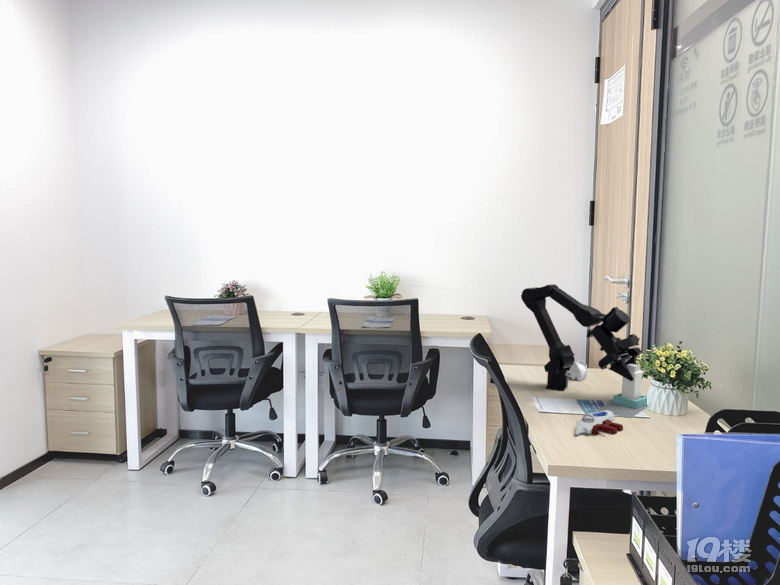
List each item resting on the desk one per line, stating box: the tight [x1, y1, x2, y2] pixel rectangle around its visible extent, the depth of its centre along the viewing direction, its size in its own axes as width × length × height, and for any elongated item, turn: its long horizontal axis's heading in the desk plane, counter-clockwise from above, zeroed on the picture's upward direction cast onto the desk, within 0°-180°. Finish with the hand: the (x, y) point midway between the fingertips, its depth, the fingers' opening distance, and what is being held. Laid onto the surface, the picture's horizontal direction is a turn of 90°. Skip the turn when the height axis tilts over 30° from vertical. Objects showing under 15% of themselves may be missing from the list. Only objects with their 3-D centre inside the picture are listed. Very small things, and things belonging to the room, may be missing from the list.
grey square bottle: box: [621, 364, 643, 400], centre depth 205 cm, size 4×4×12 cm
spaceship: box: [574, 410, 615, 437], centre depth 185 cm, size 23×7×4 cm, turn 136°
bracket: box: [591, 419, 624, 437], centre depth 180 cm, size 3×6×10 cm
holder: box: [612, 392, 647, 409], centre depth 206 cm, size 8×8×2 cm
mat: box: [595, 400, 650, 419], centre depth 202 cm, size 21×11×1 cm, turn 139°
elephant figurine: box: [567, 359, 589, 382], centre depth 241 cm, size 8×10×7 cm
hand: (636, 379), depth 204 cm, fingers closed on grey square bottle, 4 cm apart
